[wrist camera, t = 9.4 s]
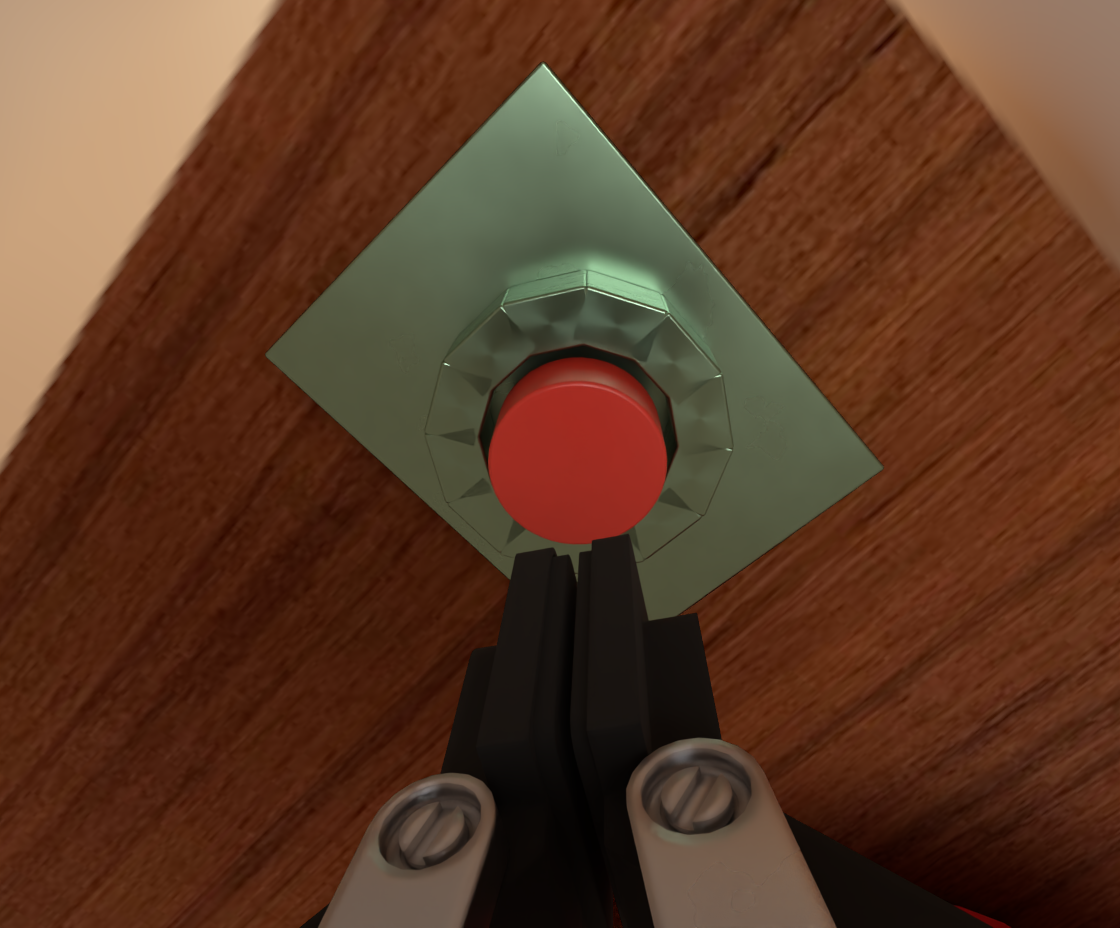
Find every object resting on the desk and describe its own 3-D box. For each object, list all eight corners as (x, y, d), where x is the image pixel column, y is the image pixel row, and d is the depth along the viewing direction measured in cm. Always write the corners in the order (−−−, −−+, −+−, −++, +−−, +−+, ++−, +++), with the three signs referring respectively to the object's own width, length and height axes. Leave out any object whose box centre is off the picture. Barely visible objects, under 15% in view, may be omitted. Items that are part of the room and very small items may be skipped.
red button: (463, 430, 17) (450, 461, 16) (584, 321, 16) (583, 343, 15) (573, 536, 18) (571, 576, 17) (694, 440, 17) (705, 474, 16)
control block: (294, 331, 20) (230, 379, 17) (548, 65, 18) (537, 53, 14) (604, 622, 24) (606, 715, 20) (857, 435, 21) (914, 502, 17)
